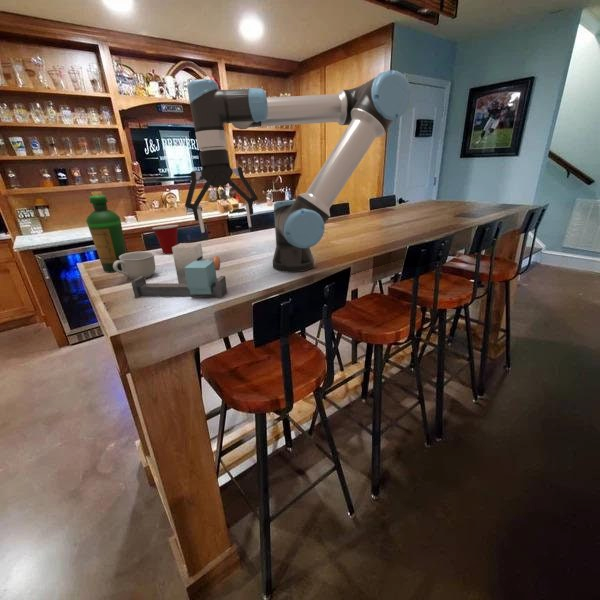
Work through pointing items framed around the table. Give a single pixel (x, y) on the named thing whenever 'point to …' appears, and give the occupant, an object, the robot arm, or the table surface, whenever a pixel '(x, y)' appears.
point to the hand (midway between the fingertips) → (226, 229)
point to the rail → (174, 289)
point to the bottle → (106, 232)
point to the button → (216, 261)
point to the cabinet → (185, 257)
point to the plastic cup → (166, 237)
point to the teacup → (136, 264)
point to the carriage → (200, 276)
